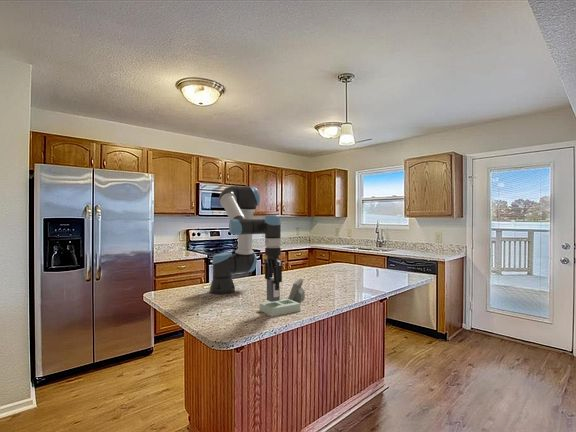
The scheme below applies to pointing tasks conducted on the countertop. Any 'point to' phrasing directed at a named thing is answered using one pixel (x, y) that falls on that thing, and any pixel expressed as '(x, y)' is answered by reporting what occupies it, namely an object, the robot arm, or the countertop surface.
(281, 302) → the outlet plate
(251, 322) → the countertop surface
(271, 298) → the charger
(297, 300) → the digital clock
